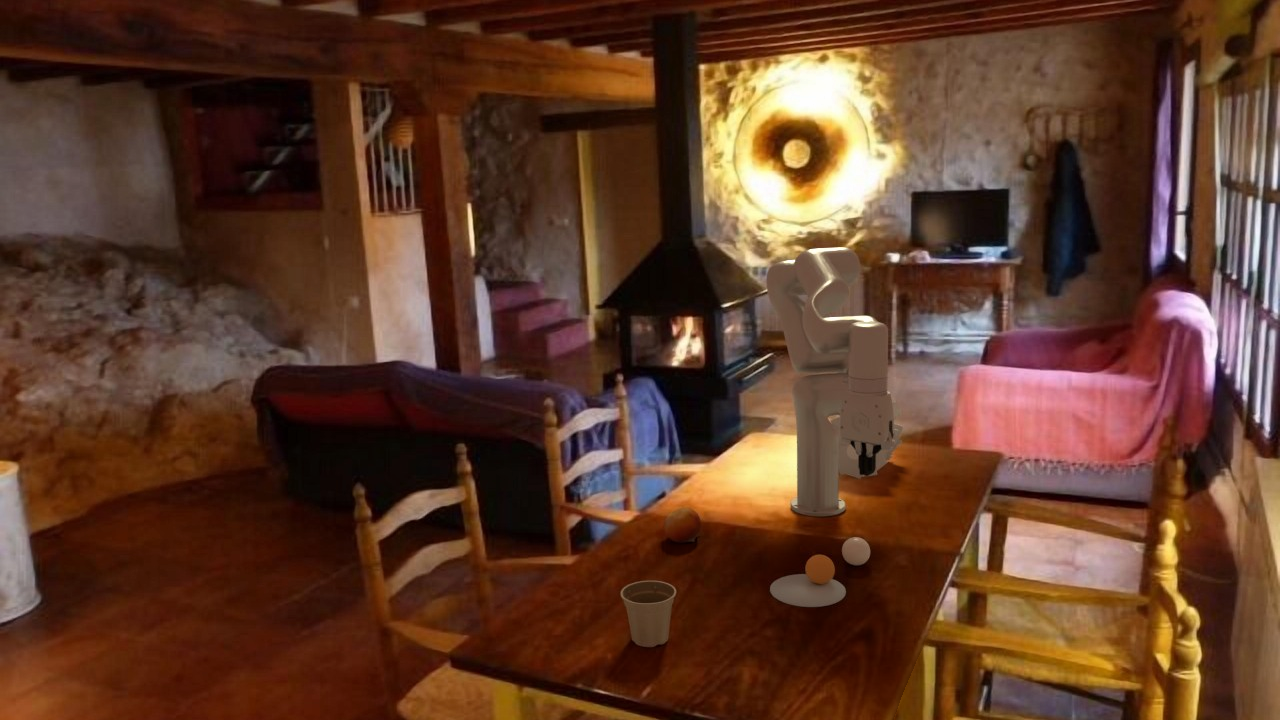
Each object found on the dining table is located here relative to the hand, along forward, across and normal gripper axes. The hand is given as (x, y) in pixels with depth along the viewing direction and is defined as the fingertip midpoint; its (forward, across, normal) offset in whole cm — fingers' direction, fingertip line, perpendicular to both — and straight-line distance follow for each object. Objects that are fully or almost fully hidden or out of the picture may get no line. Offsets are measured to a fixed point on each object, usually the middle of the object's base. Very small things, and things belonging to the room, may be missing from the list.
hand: (866, 473), depth 192 cm
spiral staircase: (+17, -29, +51) cm, 61 cm away
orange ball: (+14, 0, -18) cm, 23 cm away
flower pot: (+17, -11, -54) cm, 58 cm away
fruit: (+17, -35, -16) cm, 43 cm away
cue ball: (+14, +1, -6) cm, 16 cm away
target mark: (+17, 0, -22) cm, 28 cm away
